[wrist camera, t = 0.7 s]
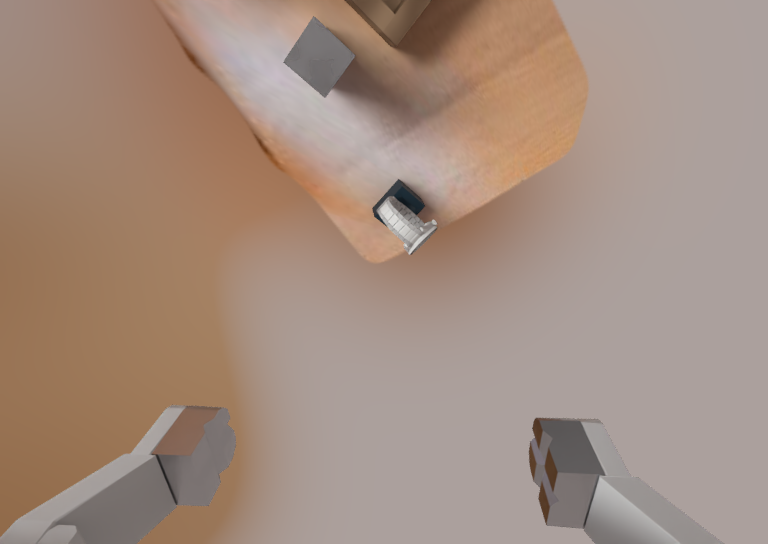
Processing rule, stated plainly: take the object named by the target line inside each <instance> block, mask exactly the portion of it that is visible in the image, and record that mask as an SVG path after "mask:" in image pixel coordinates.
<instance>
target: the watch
mask: <svg viewBox="0 0 768 544" xmlns="http://www.w3.org/2000/svg"><path fill="white" fill-rule="evenodd" d="M424 207H425V205H424V203H423V202H422V200H421V198H420V197H418V196H417V195H416V194H415V193H414V192H413V191H412V190H410V189H409V188H408V187H407V186H406V185H405V184H404V183H402V182H401V181H400V180H399V179H398V180H397V182H396V183H395V184H394V185H393V186H392V187H391V188H390V189H389V190H388V192H387V193H386V194H385V195H384V196H383V197H382V198H381V199H380V201H379V202H378V203H377V204H376V205H375V206H374V207H373V208H372V209H373V213H374V217H376V218H377V219H378V220H379V221H381V222H382V223H383V224H384V225H386V226H387V227H388V228H389V229H390V230H391V231H392V232H393V233H394V234H395V235H396V236H398V238H399V239H400V240H401V241H403V242H404V243H405V244H404V249H405V250H406V251H407V252H408V253H409V255H411V254H412V253H414V252H415V251H416V250H417V249H418V248H420V246H422V245H423V244H424V243H425V242H426V241H427V240H428V239H429V238H430V237H431V235H432V234H433V233H434V232H435V231H436V229H437V226H436V225H437V224H438V223H437V222H436V221H435V220H434V219H433V220H432V221H431V222H430V221H429V222H426V223H424V222H423V221H421V219H420V218H419V217H418V216H417V214H418V213H419V212H420V211H421V210H422V209H423V208H424Z"/></svg>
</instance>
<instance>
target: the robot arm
mask: <svg viewBox="0 0 768 544" xmlns="http://www.w3.org/2000/svg"><path fill="white" fill-rule="evenodd" d="M229 420H230V415H229V413H228V410H227V409H226V408H221V407H205V406H181V405H171V406H170V407H168V408H166V409H165V411H164V412H163V413H162V414H161V416H160V417H159V418H158V419H157V421H156V422H155V424H154V425H153V426H152V427H151V428H150V430H149V431H148V432H147V433H146V435H145V436H144V437H143V439H142V440H141V441H140V442H139V444H138V445H137V446H136V447H135V449H134V450H133V451H132V452H131V454H124V455H122V456H121V457H119V458H117V459H116V460H114V461H112V462H111V463H109V464H108V465H106V466H104V467H102V468H101V469H99V470H98V471H96V472H94V473H93V474H91V475H89V476H88V477H86V478H85V479H83V480H81V481H80V482H78V483H76V484H75V485H73V486H72V487H70V488H68V489H66V490H65V491H63V492H62V493H60V494H58V495H57V496H55V497H53V498H52V499H50V500H48V501H47V502H45V503H44V504H42V505H40V506H39V507H37V508H35V509H34V510H32V511H30V512H29V513H27V514H25V515H24V516H22V517H21V518H19V519H17V520H16V521H15V522H14V523H13V525H12V526H11V527H10V528H9V529H8V530H7V531H6V532H5V533H4V534H3V535H2V536H1V537H0V544H137V543H138V542H139V541H140V540H141V539H142V538H143V537H144V536H145V535H146V534H148V533H149V532H150V531H151V530H152V529H153V528H154V527H155V526H156V525H157V524H159V523H160V522H161V521H162V520H163V519H164V518H165V517H166V516H167V515H168V514H170V512H172V511H173V510H174V509H175V508H176V505H192V506H209V504H210V502H211V500H212V498H213V496H214V494H215V492H216V490H217V488H218V486H219V484H220V482H221V481H220V477H219V474H220V473H221V472H222V471H223V470H225V469H226V468H227V467H228V466H229V464H230V462H231V460H232V458H233V455H234V450H235V446H236V438H235V433H234V430H233V429H232V428H231V427H230V426H228V425H227V423H228V421H229ZM532 429H533V432H534V436H535V438H534V439H533V440H532V441H531V442H530V448H529V463H530V469H531V473H532V477H533V481H534V482H535V483H536V484H537V485H538V486H539V487H540V493H539V502H540V506H541V509H542V512H543V515H544V519H545V523H546V525H547V526H560V527H571V528H583V529H584V531H585V532H586V534H587V535H588V536H589V537H590V538H591V539H592V541H593V542H594V543H595V544H724V543H723V542H721V541H720V540H719V539H717V538H716V537H715V536H714V535H712V534H711V533H710V532H708V531H707V530H706V529H704V528H703V527H702V526H701V525H699V524H698V523H697V522H695V521H694V520H693V519H691V518H690V517H689V516H688V515H686V514H685V513H684V512H682V511H681V510H680V509H679V508H677V507H676V506H675V505H673V504H672V503H671V502H669V501H668V500H667V499H666V498H664V497H663V496H662V495H660V494H659V493H658V492H656V491H655V490H654V489H653V488H651V487H650V486H649V485H647V484H646V483H645V482H644V481H642V480H641V479H640V478H638V477H631V475H630V473H629V472H628V470H627V468H626V466H625V464H624V462H623V460H622V458H621V457H620V455H619V453H618V451H617V449H616V447H615V446H614V444H613V442H612V440H611V438H610V436H609V434H608V433H607V431H606V429H605V427H604V425H603V423H602V422H601V421H600V420H598V419H569V418H567V419H566V418H536V419H535V420H534V423H533V428H532Z"/></svg>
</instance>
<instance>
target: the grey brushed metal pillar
mask: <svg viewBox="0 0 768 544" xmlns="http://www.w3.org/2000/svg"><path fill="white" fill-rule="evenodd" d="M354 57H355V55H354V54H353V53H352V52H351V51H350V50H349V49H348V48H347V47H346V46H345V45H344V44H343V43H342V42H341V41H340V40H339V39H338V38H336V37H335V36H334V35H333V34H332V33H331V32H330V31H329V30H328V29H327V28H326V27H325V26H324V25H323V24H322V23H321V22H320V21H319V20H317V19H316V18H315V17H314V16H313V18H312V19H311V21H310V22H309V24H308V25H307V27H306V29H305V30H304V32H303V33H302V35H301V36H300V38H299V39H298V41H297V42H296V44H295V45H294V47H293V48H292V50H291V51H290V53H289V54H288V56H287V57H286V59H285V60H284V63H285V64H286V65H287V66H288V67H290V68H291V69H292V70H293V71H294V72H295V73H297V74H298V75H299V76H300V77H301V78H302V79H304V80H305V81H306V82H307V83H308V84H309V85H311V86H312V87H313V88H314V89H315V90H316V91H318V92H319V93H320V94H321V95H322V96H323V97H326V96H327V95H328V93H329V92H330V91H331V89H332V88H333V86H334V85H335V84H336V82H337V81H338V79H339V78H340V77H341V75H342V74H343V73H344V71H345V70H346V68H347V67H348V66H349V64H350V63H351V61H352V60H353V59H354Z"/></svg>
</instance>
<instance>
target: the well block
mask: <svg viewBox="0 0 768 544" xmlns="http://www.w3.org/2000/svg"><path fill="white" fill-rule="evenodd" d="M345 1H346V2H347V3H348V4H349V5H350V6H351V7H352V8H353V9H354V10H355V11H356V12H357V13H358V14H359V15H360V16H361V17H362V18H363V19H364V20H365V21H366V22H367V23H368V24H369V25H370V26H371V27H372V28H373V29H374V30H375V31H376V32H377V33H378V34H379V35H380V36H381V37H382V38H383V39H384V40H385V41H386V42H387V43H388V44H389V45H390V46H397V45H398V44H399V43H400V41H401V40H402V39H403V37H404V36H405V35H406V33H407V32H408V31H409V29H410V28H411V27H412V25H413V24H414V23H415V21H416V20H417V19H418V18H419V16H420V15H421V14H422V12H423V11H424V10H425V8H426V7H427V6H428V4H429V3H430V2H431V0H345Z"/></svg>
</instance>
